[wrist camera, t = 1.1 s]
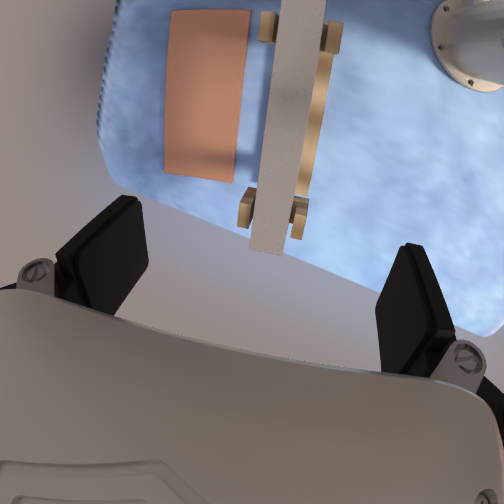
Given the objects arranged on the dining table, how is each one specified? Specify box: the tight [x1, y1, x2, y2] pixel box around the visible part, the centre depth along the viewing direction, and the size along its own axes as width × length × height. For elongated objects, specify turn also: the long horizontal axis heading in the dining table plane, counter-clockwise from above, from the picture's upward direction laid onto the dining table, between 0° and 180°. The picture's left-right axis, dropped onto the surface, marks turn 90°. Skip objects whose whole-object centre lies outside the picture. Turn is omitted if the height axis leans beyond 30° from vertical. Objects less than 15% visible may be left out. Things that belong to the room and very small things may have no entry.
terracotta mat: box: [164, 9, 252, 183], centre depth 34 cm, size 23×10×1 cm, turn 174°
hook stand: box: [237, 11, 343, 240], centre depth 28 cm, size 22×6×14 cm, turn 174°
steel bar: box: [249, 0, 326, 256], centre depth 23 cm, size 22×3×3 cm, turn 174°
